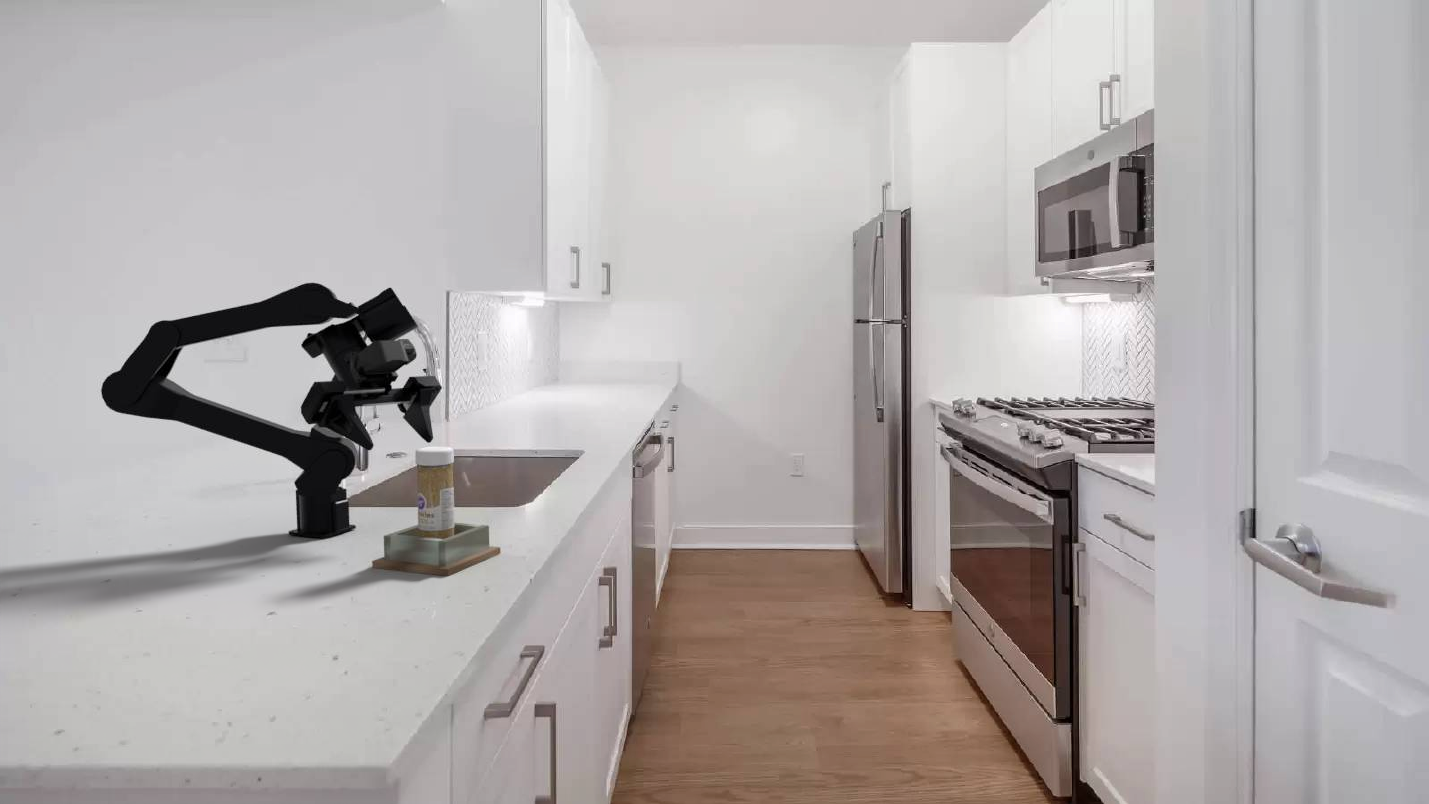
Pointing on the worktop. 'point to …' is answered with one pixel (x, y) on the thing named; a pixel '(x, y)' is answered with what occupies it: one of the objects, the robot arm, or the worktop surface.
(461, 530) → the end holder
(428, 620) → the worktop surface
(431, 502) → the sprinkles bottle
